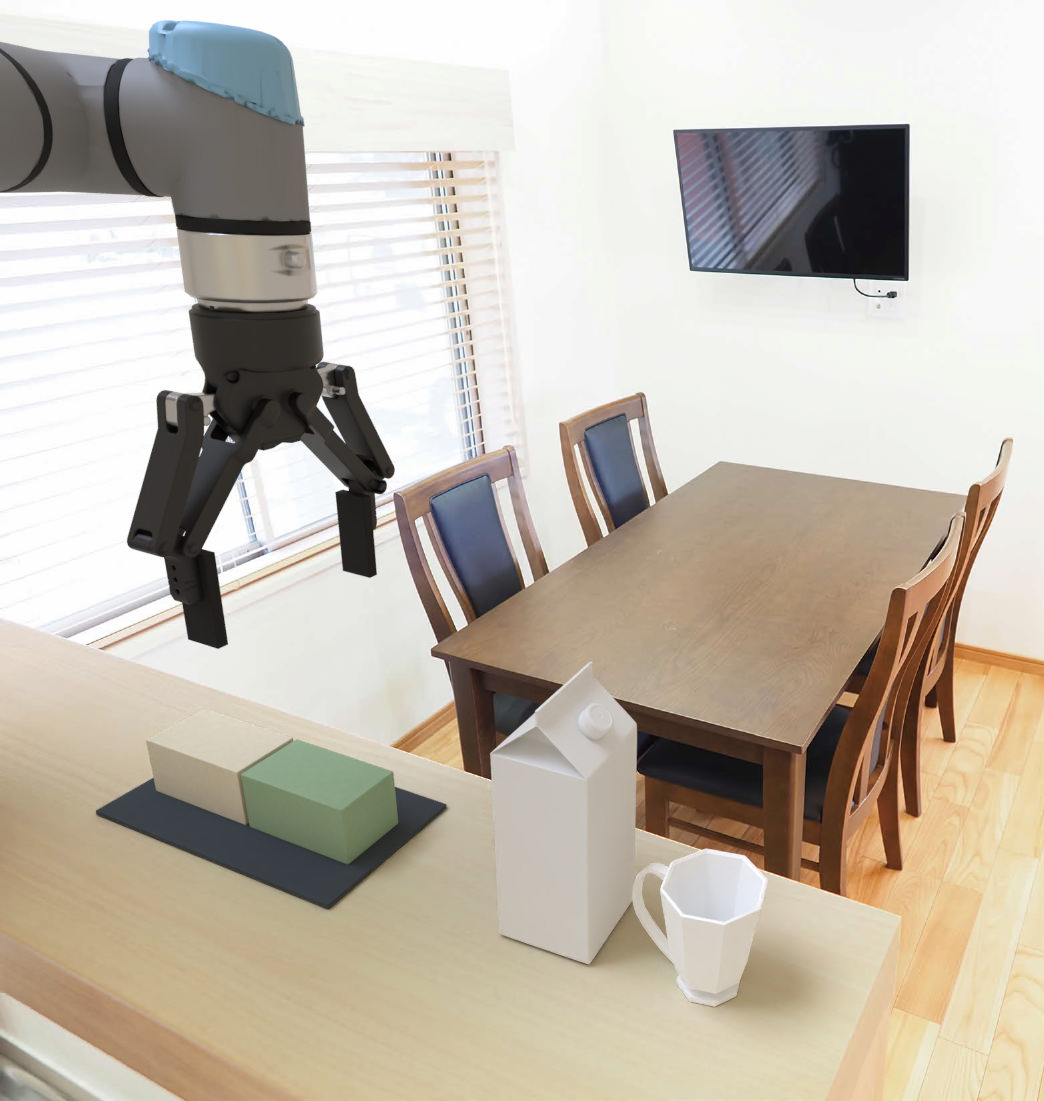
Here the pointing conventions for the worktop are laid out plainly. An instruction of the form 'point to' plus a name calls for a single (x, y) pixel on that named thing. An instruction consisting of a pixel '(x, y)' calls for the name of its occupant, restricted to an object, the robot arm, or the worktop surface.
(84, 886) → the worktop surface
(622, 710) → the milk carton
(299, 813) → the green block
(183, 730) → the cream block
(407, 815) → the mat
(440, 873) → the worktop surface
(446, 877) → the worktop surface
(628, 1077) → the worktop surface
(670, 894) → the cup
